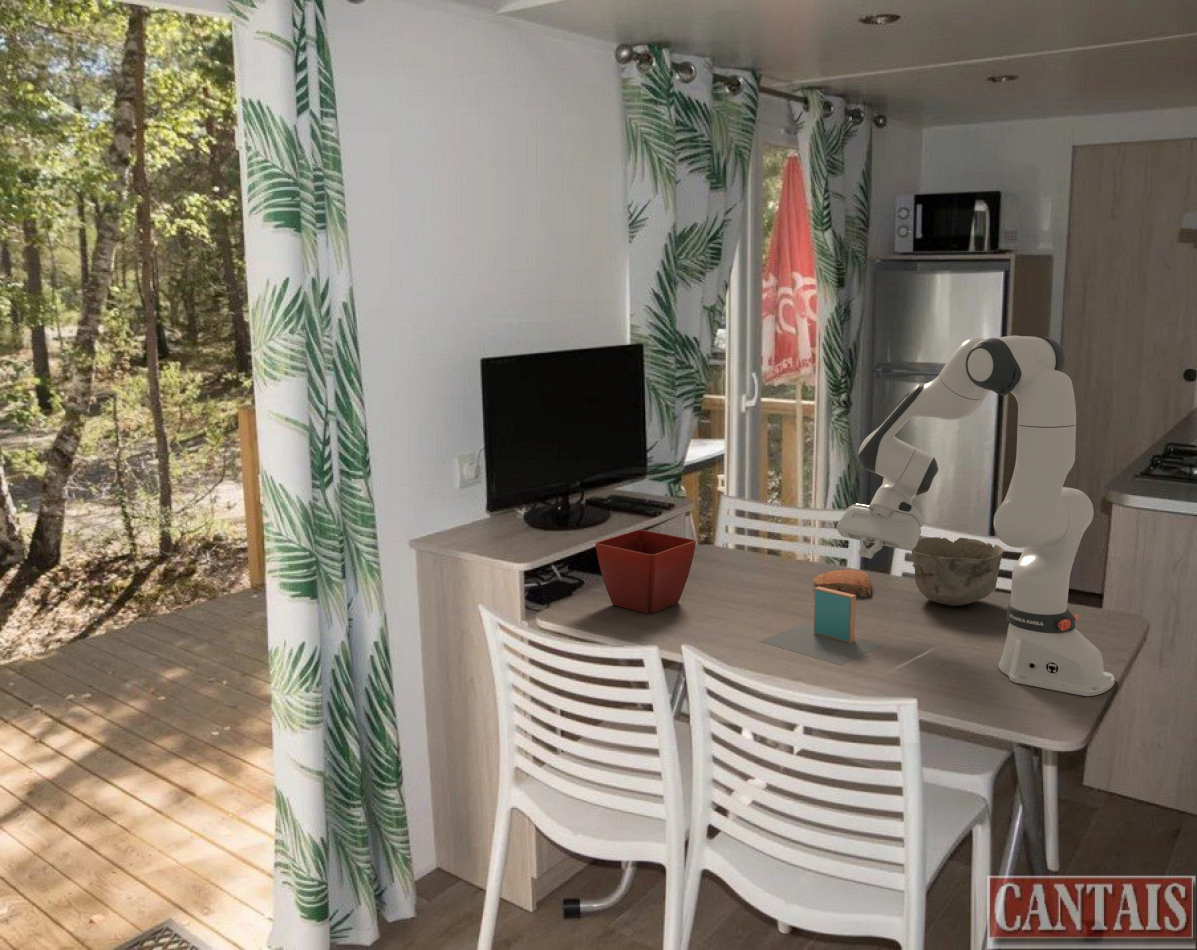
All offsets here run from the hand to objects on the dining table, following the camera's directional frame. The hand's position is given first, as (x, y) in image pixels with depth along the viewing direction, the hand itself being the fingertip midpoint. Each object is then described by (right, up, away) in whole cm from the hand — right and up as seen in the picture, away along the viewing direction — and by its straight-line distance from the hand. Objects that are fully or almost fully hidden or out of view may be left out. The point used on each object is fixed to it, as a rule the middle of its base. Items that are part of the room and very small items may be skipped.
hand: (864, 556), depth 254 cm
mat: (-13, -20, -9) cm, 25 cm away
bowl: (+27, -14, +20) cm, 36 cm away
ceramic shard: (+2, -12, +34) cm, 36 cm away
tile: (-9, -18, -6) cm, 21 cm away
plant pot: (-51, -14, +23) cm, 58 cm away
